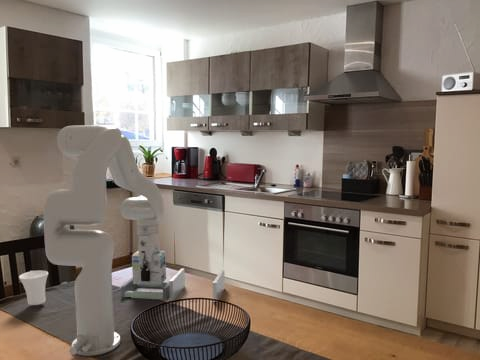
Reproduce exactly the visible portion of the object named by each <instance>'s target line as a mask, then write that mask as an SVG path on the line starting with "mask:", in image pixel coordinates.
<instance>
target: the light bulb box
mask: <svg viewBox="0 0 480 360" xmlns="http://www.w3.org/2000/svg"><path fill="white" fill-rule="evenodd" d="M144 261H147V259H146V257H145V260H144ZM166 263H167V262H166V250H160V251H158V252H157V253H155V254H154V255H153V262H152V263H150V262H149V270H150V281H149V282H148V281H141V270H140V265H139V256H138V250H137V251H136V252H134V253H133V254H132V255H131V267H132V269H131V270H132V277H133V284H158V285H161V284H162V283H163V282H164V281H165V280H166V279H167V269H166V267H167V264H166ZM144 265H146V267H147V264H146V263H144Z"/></svg>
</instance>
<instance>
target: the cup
mask: <svg viewBox="0 0 480 360" xmlns="http://www.w3.org/2000/svg"><path fill="white" fill-rule="evenodd" d="M48 276H49V272H48V271H47V270H30V271H27V272H24V273H22V274H20V275H18V278H19V280H20V282H21V283H22V285H23V288H24V290H25V295H26V298H27V300H26V301H27V305H29V306H38V305H42V304H44V303H45V302H46V301H47V299H46V284H47V278H48Z"/></svg>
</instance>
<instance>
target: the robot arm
mask: <svg viewBox="0 0 480 360" xmlns="http://www.w3.org/2000/svg"><path fill="white" fill-rule="evenodd" d="M56 141H57V147H58V149H59V151H60V152H61V153H62V154H63V155H65V156H66V157H68V158H72V159H75V160H76V161H75V163H74V165H73V168H72V170H71V189H69V188H68V189H67V188H66V189H64V188H61V189H56V190H53V191H51V192H50V193H49V194H48V195H47V197H46V199H45V202H44V205H43V231H44V232H43V236H44V248H45V250H44V251H45V255H46V258H47V259H48V262H50V263H51V264H52V265H57V266H70V267H71V266H73V267H74V266H75V267H81V268H82V269H81V271H80V272H79V274H78V275H77V277H76V279H75V281H74V299H75V302H74V303H75V316H76V317H75V318H76V319H75V320H76V338H75V339H74V340H73V341H72V343H71V346H70V347H71V348H70V349H69V353H70V354H71V355H73V356H74V355H79V356H83V357H84V356H86V357H88V356H89V357H91V356H93V357H94V356H99V355H103V354H106V353H109V352H111V351H113V350H115V349H116V348H118V346H119V345H120V343H121V336H120V334H119V333H117V332H116V331H115V323H114V322H115V319H114V318H115V317H114V298H113V277H112V276H113V275H112V273H113V270H112V269H113V268H112V267H113V258H114V252H115V241H114V238H113V236H112V235H111V234H110V233H108V232H106V231H103V230H99V229H70V228H71V226H96V225H100V224H102V223H103V222H104V221H105V220H106V218H107V214H108V213H107V211H108V205H107V204H108V200H107V195H108V194H107V171H108V170H109V173H110V175H111V177H112V181H113V183H114V184H115V185H116V186H117V187H120V188H122V189H124V190H127V191H130V192H133V193H136V194H138V196H135V197H127V198H125V199H124V200H123V201H122V202H121V204H120V208H119V211H120V214H121V216H122V217H123V218H124V219H127V220H133V221H134V220H135V221H136V229H137V230H136V231H137V235H138V245H137V246H138V247H137V248H138V249H137V251H138V256H139V265H140V270H141V281H148V282H149V281H150V270H149V262H150V263H152V262H153V255H154V254H155V253H157V252H158V251H161V244H160V235H159V233H160V232H159V231H160V229H159V220H160V219H162V217H163V215H164V213H165V206H164V205H165V204H164V200H163V196H162V193H161V191H160V188H159V187H158V185H157V183H155V182H154V181H153V180H151V179H150V178H149V177H147V176H146V175H145V174H143V173H142V172H141V171H140V169H139V166H138V163H137V161H136V157H135V154H134V151H133V148H132V146H131V142H130V141H129V139H128V137H127V136H125V135H123V134H122V131H121V130H120V128H118V127H117V126H114V125H109V124H89V125H82V124H81V125H67V126H64V127H63V128H61V129H60V130H59V132H58V134H57V139H56ZM145 257H146V259H147V261H144V260H145ZM144 263H146V264H147V267H146V265H144Z"/></svg>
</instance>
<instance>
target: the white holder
mask: <svg viewBox="0 0 480 360" xmlns="http://www.w3.org/2000/svg"><path fill="white" fill-rule="evenodd" d="M185 273H186V272H185V268H180V269H179V270H178V271H177V273H175V274H174V275H173V277H172V278H170V279H169V281H168V282H169V285H170V296H169V301H170V302H171V301H173V300H174V301H175V299H177V297H178V296H179V295H180V293H181V292H182V291H183V290H184V289H185V287H186V280H185V279H186V275H185ZM225 280H226V279H225V269H220V271H219V272H218V274H217V276H216V277H215V279H214V280H213V281H212V300H213V299H217V300H218V301H219V300H220V298H221V296H222V294H223V292H224V291H225V289H226V287H225V284H226V283H225ZM174 301H173V302H174Z"/></svg>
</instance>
